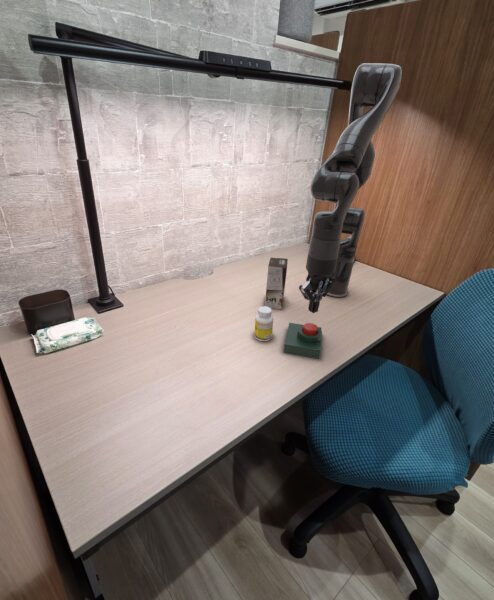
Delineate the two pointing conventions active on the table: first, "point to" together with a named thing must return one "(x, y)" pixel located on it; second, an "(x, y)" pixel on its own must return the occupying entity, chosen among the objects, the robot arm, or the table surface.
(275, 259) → the coffee box
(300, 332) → the console
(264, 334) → the supplement bottle
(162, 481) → the table surface
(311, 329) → the button
